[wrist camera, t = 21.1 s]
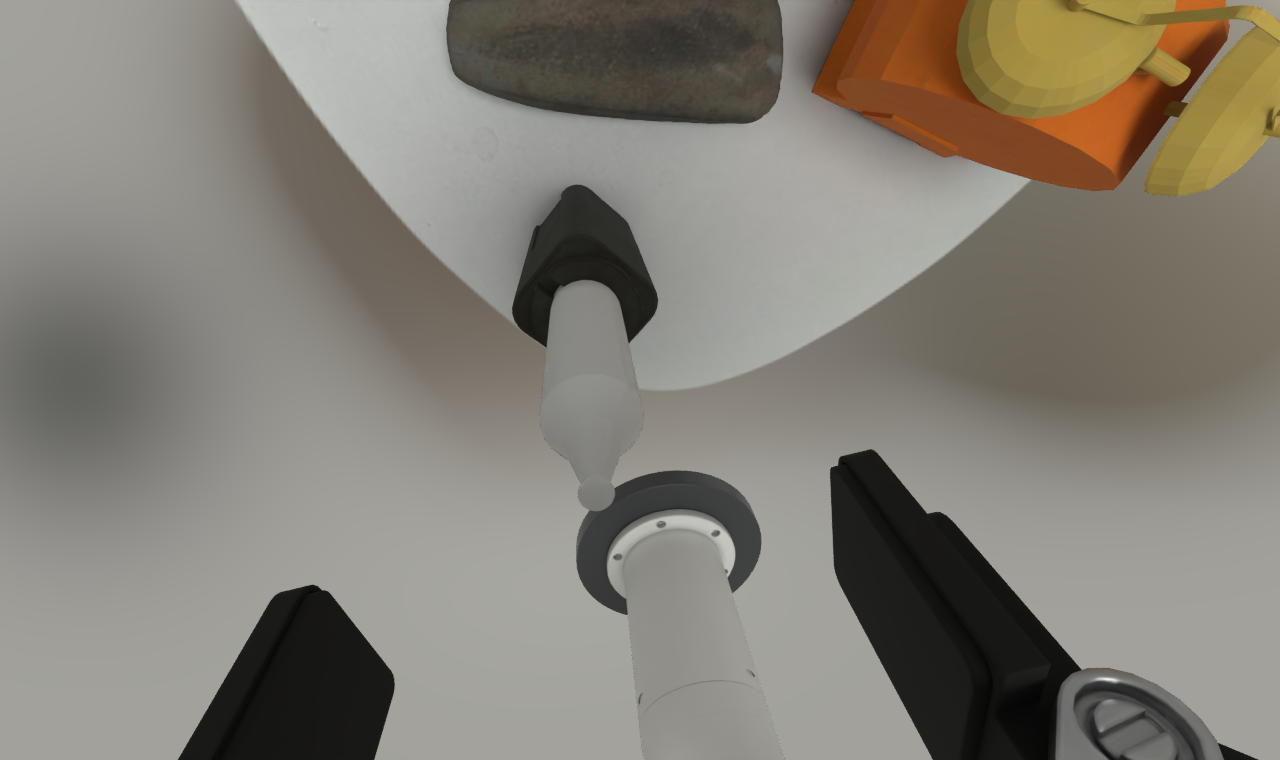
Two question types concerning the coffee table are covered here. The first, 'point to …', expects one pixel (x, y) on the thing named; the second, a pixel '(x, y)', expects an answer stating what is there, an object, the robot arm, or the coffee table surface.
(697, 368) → the coffee table surface
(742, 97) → the decorative stone
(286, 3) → the coffee table surface
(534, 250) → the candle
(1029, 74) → the alarm clock
